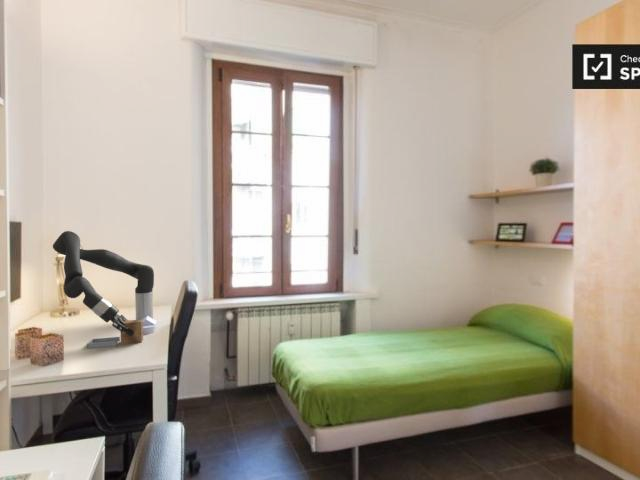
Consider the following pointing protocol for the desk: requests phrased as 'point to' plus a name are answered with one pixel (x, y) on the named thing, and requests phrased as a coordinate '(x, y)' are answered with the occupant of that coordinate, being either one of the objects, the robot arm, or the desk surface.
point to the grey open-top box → (103, 342)
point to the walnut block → (136, 328)
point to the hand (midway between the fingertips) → (133, 333)
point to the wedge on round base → (148, 325)
